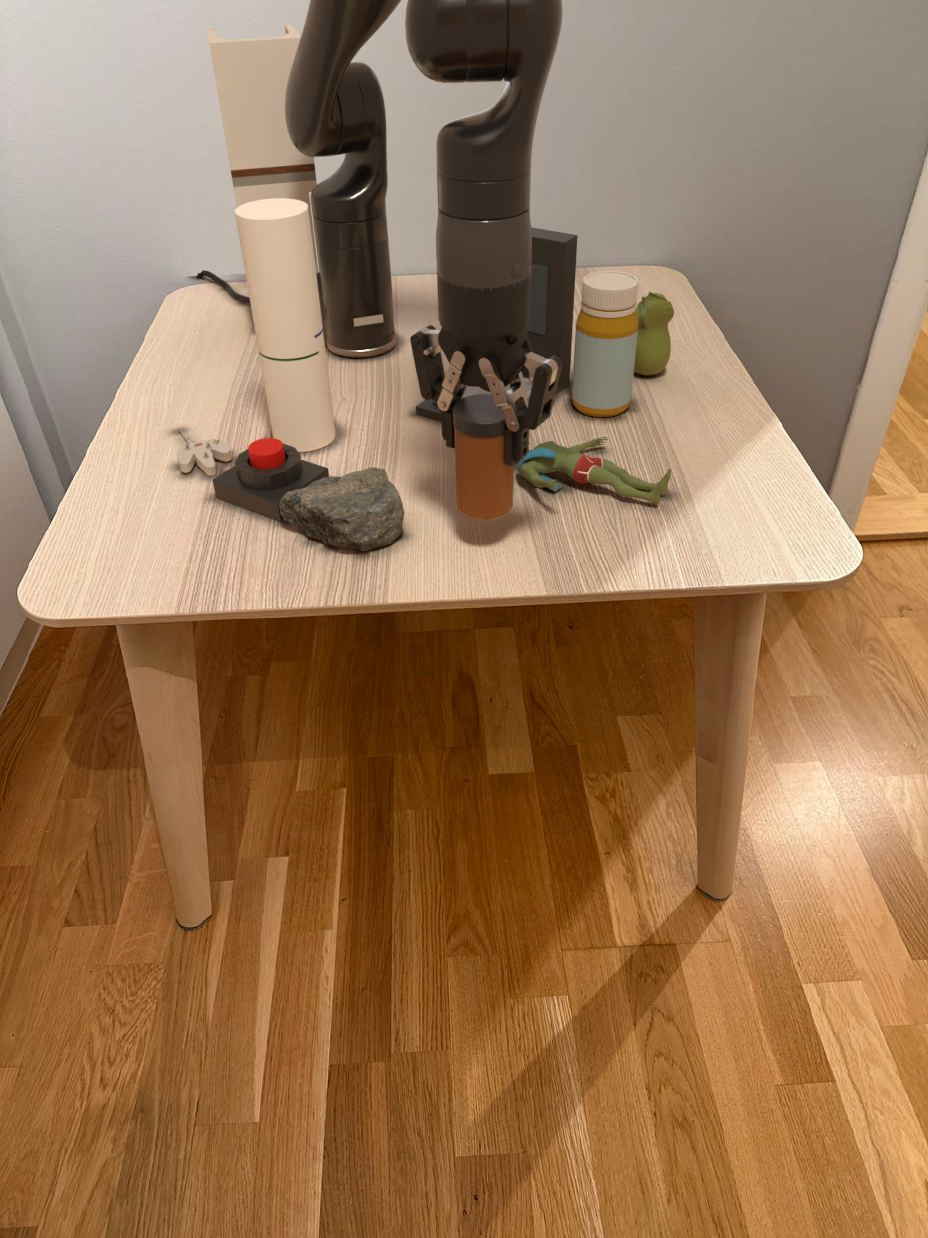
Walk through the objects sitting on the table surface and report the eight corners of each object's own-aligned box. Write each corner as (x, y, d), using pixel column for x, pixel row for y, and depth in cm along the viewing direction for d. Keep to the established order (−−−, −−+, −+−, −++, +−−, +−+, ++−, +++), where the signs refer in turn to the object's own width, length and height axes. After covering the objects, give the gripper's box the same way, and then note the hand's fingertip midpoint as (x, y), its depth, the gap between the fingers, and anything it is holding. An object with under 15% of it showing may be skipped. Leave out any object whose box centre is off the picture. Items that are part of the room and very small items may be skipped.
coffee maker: (487, 363, 122) (487, 219, 110) (569, 383, 117) (577, 234, 105) (415, 414, 111) (406, 260, 100) (502, 438, 106) (503, 280, 95)
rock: (413, 504, 96) (410, 461, 93) (400, 561, 88) (396, 516, 85) (294, 501, 97) (287, 458, 94) (271, 557, 89) (262, 513, 86)
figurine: (647, 499, 87) (473, 454, 93) (640, 536, 89) (469, 491, 95) (686, 448, 100) (530, 412, 105) (679, 483, 102) (526, 445, 107)
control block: (215, 497, 98) (208, 464, 95) (267, 464, 103) (261, 431, 100) (280, 521, 94) (274, 487, 91) (330, 485, 99) (326, 452, 97)
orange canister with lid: (494, 527, 85) (495, 429, 79) (443, 509, 88) (440, 413, 81) (533, 490, 90) (537, 395, 84) (484, 474, 92) (484, 380, 86)
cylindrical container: (345, 426, 109) (320, 200, 93) (319, 455, 104) (287, 222, 88) (291, 418, 111) (257, 195, 95) (262, 446, 106) (221, 216, 90)
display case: (332, 323, 133) (300, 37, 111) (257, 331, 132) (209, 42, 109) (323, 295, 142) (291, 24, 120) (252, 302, 140) (207, 29, 118)
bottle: (628, 421, 109) (641, 293, 99) (568, 416, 110) (575, 289, 100) (632, 394, 114) (644, 270, 104) (574, 390, 115) (582, 267, 106)
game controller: (198, 483, 100) (193, 462, 98) (137, 451, 106) (131, 430, 104) (240, 462, 103) (236, 441, 102) (179, 432, 109) (174, 411, 108)
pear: (653, 360, 121) (662, 283, 115) (676, 376, 118) (686, 298, 111) (616, 368, 120) (623, 291, 113) (638, 385, 116) (646, 306, 110)
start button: (243, 464, 96) (240, 449, 95) (266, 449, 98) (264, 434, 97) (269, 473, 94) (266, 458, 93) (293, 458, 96) (290, 443, 95)
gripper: (586, 267, 73) (573, 456, 84) (435, 237, 79) (441, 417, 90) (540, 299, 69) (532, 494, 79) (383, 264, 75) (396, 450, 86)
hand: (484, 452), depth 85 cm, fingers closed on orange canister with lid, 5 cm apart
